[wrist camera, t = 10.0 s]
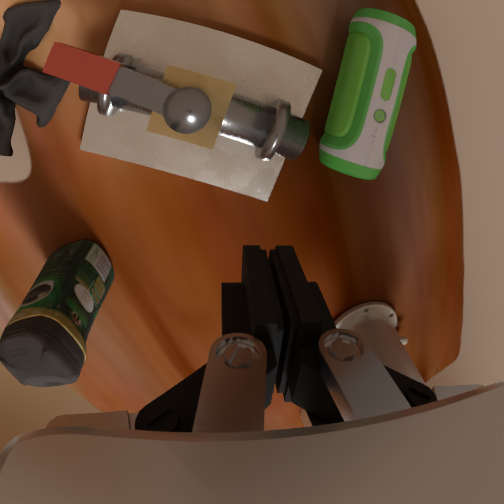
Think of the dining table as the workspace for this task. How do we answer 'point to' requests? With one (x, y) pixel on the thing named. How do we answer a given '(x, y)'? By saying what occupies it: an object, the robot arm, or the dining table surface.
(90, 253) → the coffee jar
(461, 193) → the dining table surface
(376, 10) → the speaker
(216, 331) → the dining table surface
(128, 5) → the dining table surface
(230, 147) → the valve pipe
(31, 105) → the cloth
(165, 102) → the lever
